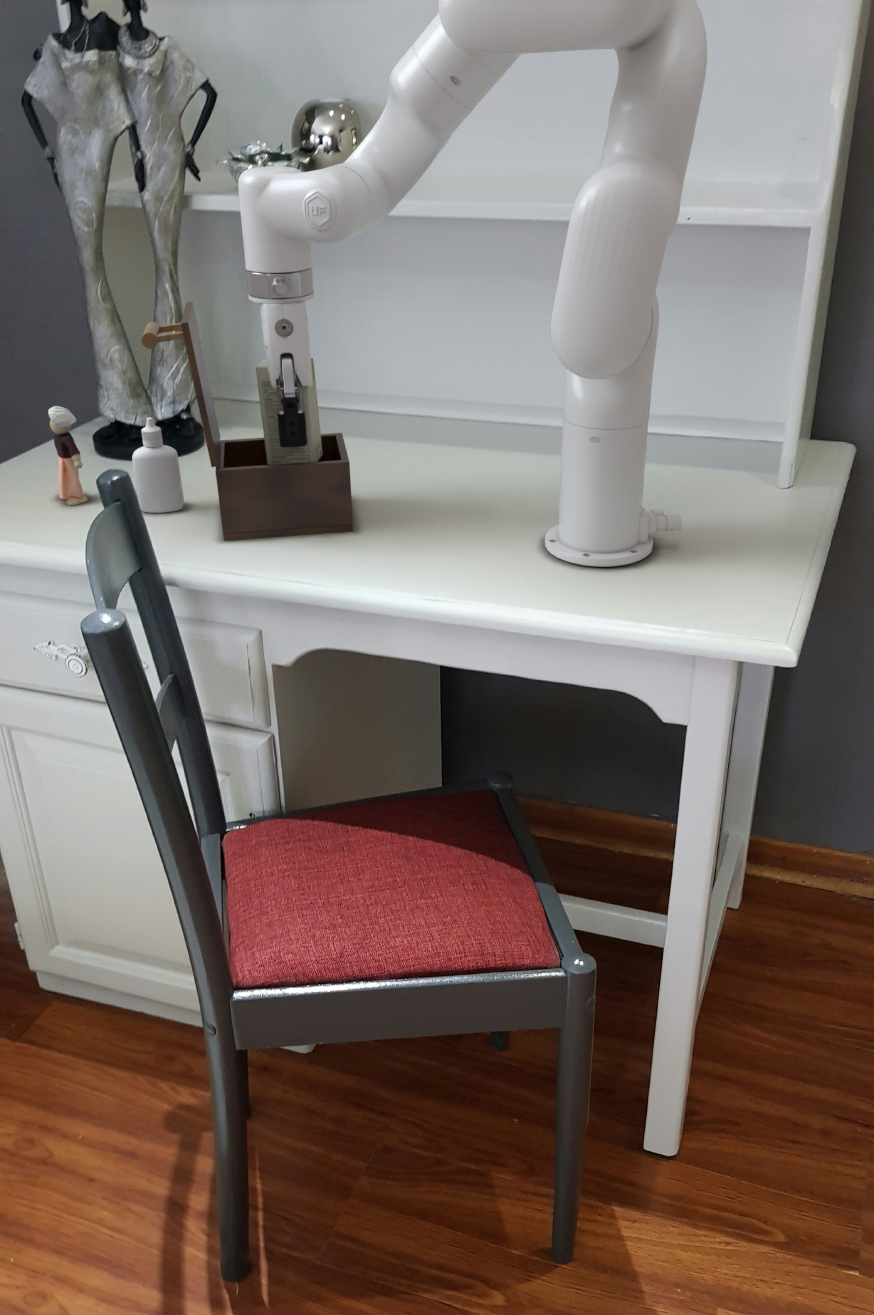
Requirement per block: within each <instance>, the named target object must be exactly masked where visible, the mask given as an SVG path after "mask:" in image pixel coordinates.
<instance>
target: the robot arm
mask: <svg viewBox="0 0 874 1315" xmlns="http://www.w3.org/2000/svg"><path fill="white" fill-rule="evenodd" d="M612 49H613V50H614V51H615V53H616V56H617V61H618V72H617V79H616V84H615V88H614V91H613V96H612V100H611V104H610V109H609V114H608V115H609V116H608V121H607V122H608V123H607V129H606V133H605V139H604V143H603V146H602V147H603V148H602V151H601V156H600V161H599V164H598V166H597V170H596V171H595V172H594V173H593V174H591V176H589V178H588V179H587V180H586V181H585V183H584V184H583V185H582V187H581V189H580V191H579V192H578V194H577V196H576V199H575V201H574V204H573V207H572V209H571V214H570V218H569V222H568V227H567V231H566V232H567V233H566V237H565V243H564V247H563V254H562V258H561V263H560V264H561V265H560V268H559V269H560V270H559V274H558V280H557V285H556V289H555V290H556V291H555V296H554V301H553V307H552V313H551V318H550V340H551V345H552V348H553V350H554V353H555V355H556V356H557V359H558V360H559V362H560V363H561V364H562V365H563V366H564V367H565V375H564V386H563V401H562V402H563V404H562V405H563V407H562V422H561V454H560V475H559V476H560V477H559V478H560V480H559V504H558V523H557V524H555V525H553V526H552V527H550V528H549V529H548V530H547V531H546V533H545V535H544V547H545V548H546V550H547V551H548V553H550V554H551V555H552V556H554V557H556V558H558V560H559V559H560V560H561V561H564V562H567V563H571V564H575V565H580V566H586V567H599V568H601V567H602V568H605V567H606V568H607V567H608V568H609V567H619V566H620V567H621V566H625V565H631V564H635V563H636V562H639V561H641V560H643V559H645V558H647V557H648V556H649V555H650V554H651V552H652V551H653V546H654V539H653V536H654V535H655V534H656V533H657V532H662V531H664V532H674V531H675V532H676V531H680V530H682V527H683V519H682V515H681V514H680V513H674V514H673V513H672V514H671V513H670V514H665V511H664V509H663V508H660V509H652V510H646V509H645V508H644V507H643V498H644V484H645V473H646V472H645V471H646V460H647V444H648V433H649V432H648V430H649V420H650V412H651V400H652V387H653V377H654V367H655V360H656V351H657V342H658V336H659V335H658V334H659V325H660V306H659V299H658V295H657V293H656V291H657V287H658V283H659V277H660V273H661V269H662V265H663V261H664V257H665V252H666V248H667V245H668V239H669V238H670V237H671V235H672V234H673V232H674V229H675V227H676V225H677V223H678V220H679V216H680V210H681V201H682V194H683V188H684V182H685V178H686V173H687V169H688V165H689V161H690V156H691V151H692V146H693V142H694V138H695V132H696V127H697V122H698V116H699V111H700V105H701V101H702V98H703V93H704V92H703V91H704V87H705V81H706V73H707V64H708V40H707V32H706V27H705V23H704V18H703V15H702V12H701V9H700V6H699V4H698V2H697V0H438V12H437V14H436V15H435V16H434V17H433V19H432V20H431V21H430V22H429V23H428V25H427V26H426V27H425V28H424V30H423V31H422V32H421V34H420V35H419V36H417V38H416V40H415V41H414V42H413V43H412V45H411V46H410V47H409V49H408V50H407V51H406V52H405V54H403V56H402V57H401V58H400V60H398V62H397V63H396V65H394V67H393V69H392V71H391V73H390V76H389V79H388V81H389V82H388V97H387V101H386V104H385V107H384V109H383V111H382V112H381V115H380V117H379V118H378V119H377V121H376V123H375V124H374V126H373V127H372V128H371V130H370V131H369V132H368V134H367V135H366V136H365V138H364V139H363V140H362V141H361V142H360V143H359V145H358V146H357V147H356V148H355V149H354V151H353V152H352V153H351V154H350V155H349V156H348V157H347V159H346V160H344V162H342V163H338V164H333V165H330V166H327V167H324V168H319V169H315V170H314V169H313V170H309V171H303V172H302V171H301V170H299V169H298V168H296V167H292V166H280V165H279V166H277V165H276V166H275V165H273V166H260V167H259V166H258V167H257V166H256V167H251V168H247V169H245V170H244V171H243V172H241V173H240V175H239V178H238V182H237V187H238V188H237V190H238V199H239V210H240V221H241V233H242V234H241V235H242V243H243V244H242V245H243V253H244V264H245V275H246V285H247V286H246V287H247V297H248V298H247V299H248V300H249V301H250V302H252V303H257V304H259V311H260V312H259V313H260V322H261V331H262V332H261V333H262V340H263V348H264V355H265V358H266V362H267V367H268V372H269V377H270V382H271V386H272V388H273V389H275V390H277V392H278V402H279V413H278V414H277V416H278V427H279V439H280V446H281V447H297V446H305V445H306V444H307V439H306V425H305V412H303V411H302V398H301V386H300V382H301V384H302V386H308V387H307V388H308V389H310V388H311V387H312V385H313V383H312V370H311V358H312V357H311V344H310V343H311V342H310V332H309V331H310V330H309V319H308V312H307V304H306V301H307V302H308V301H311V300H312V299H313V298H314V297H315V291H314V289H315V288H314V274H313V263H312V262H313V261H312V244H311V242H312V243H313V242H314V243H317V244H324V245H325V244H327V245H333V244H339V243H343V242H346V241H348V240H350V239H353V238H355V237H357V236H358V235H360V234H363V233H366V232H368V231H370V230H373V228H376V227H377V226H378V225H380V224H381V223H382V222H383V221H384V220H385V219H386V218H387V217H388V216H389V215H390V214H391V213H392V212H393V210H394V209H395V208H396V207H397V206H398V205H399V204H400V203H401V201H402V200H403V199H404V198H405V197H406V196H407V194H409V192H410V191H411V190H412V189H413V187H414V186H415V185H416V184H417V183H418V182H419V181H420V179H421V178H422V177H423V175H424V174H425V173H426V172H427V170H428V169H429V168H430V166H431V165H432V164H433V162H434V161H435V159H436V158H437V157H438V155H439V154H440V153H441V151H442V150H443V149H444V148H445V147H446V145H447V144H448V142H449V141H450V139H451V137H452V135H453V134H454V133H455V132H456V130H458V128H459V127H460V125H462V123H463V122H464V121H465V119H466V118H467V117H468V116H469V115H470V114H472V112H473V110H474V109H475V108H476V107H477V105H478V104H479V103H480V102H481V101H483V99H484V98H485V97H486V96H487V94H489V92H490V91H491V90H492V89H493V88H494V86H495V85H496V84H497V83H498V82H499V81H500V79H501V78H502V77H504V75H505V74H506V73H507V72H508V70H510V68H511V67H512V66H513V65H514V63H515V62H517V60H518V59H519V58H520V57H521V55H525V54H541V53H543V54H544V53H557V52H560V53H561V52H573V51H591V50H612ZM292 358H293V364H292ZM281 359H282V368H281ZM279 375H280V378H279ZM296 375H297V380H296ZM276 379H277V381H276ZM283 382H284V387H280V383H283ZM294 382H297V387H294ZM276 387H277V388H276ZM295 392H297V395H295ZM282 393H284V394H285V396H283V397H282ZM283 405H284V409H283Z"/></svg>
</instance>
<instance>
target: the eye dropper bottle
mask: <svg viewBox="0 0 874 1315" xmlns="http://www.w3.org/2000/svg"><path fill="white" fill-rule="evenodd" d="M145 420H146V422H145V427H143V428H141V430H140V431H141V432H140V433H141V439H142V446H140V447H138V448H137V449H135V450H134V451H133V454H132V456H131V459H132V461H131V462H132V467H133V475H134V481H135V487H136V494H137V501H138V500H139V501H138V504H139V503H140V507H141V509H140V511H141V512H142V513H143V512H144V513H148V514H149V513H150V514H153V513H154V514H163V513H170V512H171V513H172V512H177V511H180V510H182V509H183V508H184V504H185V497H184V490H183V483H182V475H181V469H180V463H179V462H180V461H179V455H178V452H177V450H176V449H175V448H173V447H172V446H169V445H166V444H164V442H163V441H164V440H163V435H162V434H163V433H162V428H161V427H160V426H157V425H156V424H155V422H154V419H153V417H146V419H145ZM140 507H139V508H140Z"/></svg>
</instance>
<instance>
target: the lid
mask: <svg viewBox="0 0 874 1315" xmlns="http://www.w3.org/2000/svg"><path fill="white" fill-rule="evenodd" d="M196 316H197V315H196V311H195V307H194V303H193V301H186V302H185V305H184V309H183V313H182V317H181V322H178V323H177V322H176V323H171V324H170V323H169V324H164V325H160V324H159V323H158V322H156V321H149V322H148V323H146V325H145V328H144V329H143V332H142V336H141V339H140V342H141V344H142V346H143V347H144V348H146V349H148V350H151V349H155V348H156V347H157V346H158V343H166V342H172V341H179V340H183V341H184V345H185V350H186V354H187V359H188V363H189V368H190V373H191V378H192V382H193V388H194V393H195V397H196V400H197V406H198V410H199V415H200V420H201V424H202V430H203V435H204V438H205V439H204V440H205V444H206V448H207V451H208V457H209V462H210V466H211V468H216V467H217V466H218V462H219V448H220V440H221V433H220V429H219V423H218V418H217V414H216V409H215V404H214V399H213V394H212V390H211V384H210V379H209V374H208V370H207V366H206V361H205V360H206V359H205V356H204V351H203V345H202V340H201V336H200V332H199V326H198V322H197V317H196Z"/></svg>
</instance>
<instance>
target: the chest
mask: <svg viewBox="0 0 874 1315" xmlns="http://www.w3.org/2000/svg"><path fill="white" fill-rule="evenodd" d="M321 444H322V456H321V457H320V459H319V460H318V461H317V462H306V463H291V464H276V465H268V464H267V457H266V449H265V441H264V437H253V438H251V437H250V438H249V437H248V438H235V439H234V438H233V439H220V448H219V462H218V466H217V467H215V478H216V487H217V488H216V489H217V496H218V504H219V505H218V506H219V511H220V512H219V513H220V522H221V528H222V538H223V541H237V540H253V539H267V538H278V537H279V538H280V537H293V536H294V537H295V536H304V535H305V536H306V535H307V536H308V535H317V534H318V535H321V534H322V535H323V534H332V533H334V534H335V533H346V532H354V518H353V515H354V514H353V502H352V501H353V500H352V481H351V464H350V459H349V455H348V451H347V447H346V446H347V445H346V443H345V438H344V435H343V432H333V433H332V432H331V433H321Z"/></svg>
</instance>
